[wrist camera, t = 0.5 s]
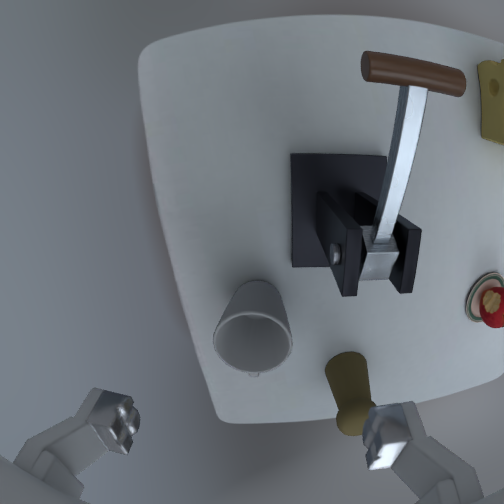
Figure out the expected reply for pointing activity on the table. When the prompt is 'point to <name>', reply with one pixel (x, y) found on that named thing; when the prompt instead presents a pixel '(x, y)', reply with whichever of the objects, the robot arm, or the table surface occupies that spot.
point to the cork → (350, 391)
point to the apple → (487, 301)
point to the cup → (254, 330)
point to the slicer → (344, 217)
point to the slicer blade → (400, 146)
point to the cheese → (492, 100)
